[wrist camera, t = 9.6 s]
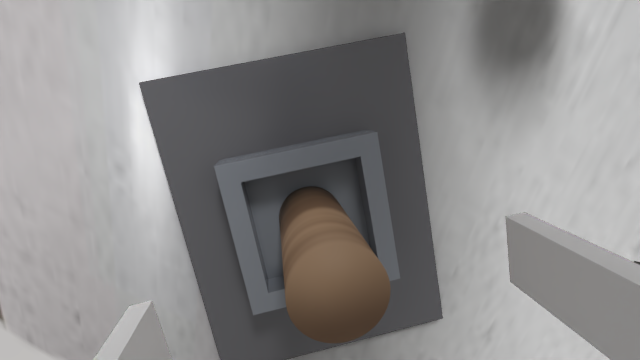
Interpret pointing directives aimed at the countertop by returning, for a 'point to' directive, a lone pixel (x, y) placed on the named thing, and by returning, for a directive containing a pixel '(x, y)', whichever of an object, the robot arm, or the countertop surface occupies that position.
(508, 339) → the countertop surface
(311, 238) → the peg
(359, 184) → the socket
